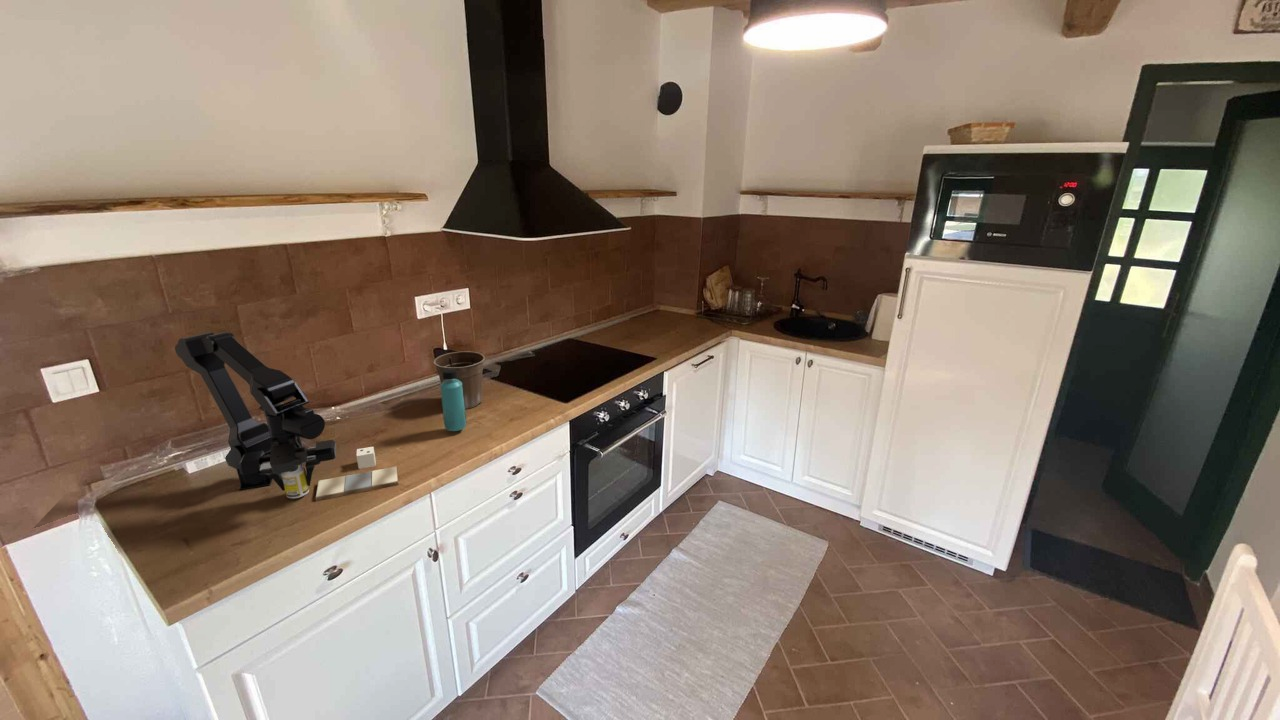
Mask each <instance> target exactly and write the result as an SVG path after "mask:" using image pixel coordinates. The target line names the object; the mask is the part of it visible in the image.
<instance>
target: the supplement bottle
mask: <svg viewBox="0 0 1280 720" xmlns="http://www.w3.org/2000/svg"><path fill="white" fill-rule="evenodd" d="M281 475H282V480H283V484H284V488H285V490H284V492H285V495H286V497H287V498H288V499H299V498H301V497H303V496H305V495H307V494H308V493H309V492H310V486H308V484H307V475H306V467H304V466H303V463H302V464H301V465H298V469H297V470H296V471H293V472H284V473H282V474H281Z"/></svg>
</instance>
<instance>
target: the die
mask: <svg viewBox="0 0 1280 720" xmlns="http://www.w3.org/2000/svg"><path fill="white" fill-rule="evenodd" d="M356 461H357V462H356V463H357V467H358V470H361V469H367V468H372V467H377V465H376V464H377V463H376V453H375V447H374V446H369V447H363V448H357V449H356Z"/></svg>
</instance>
